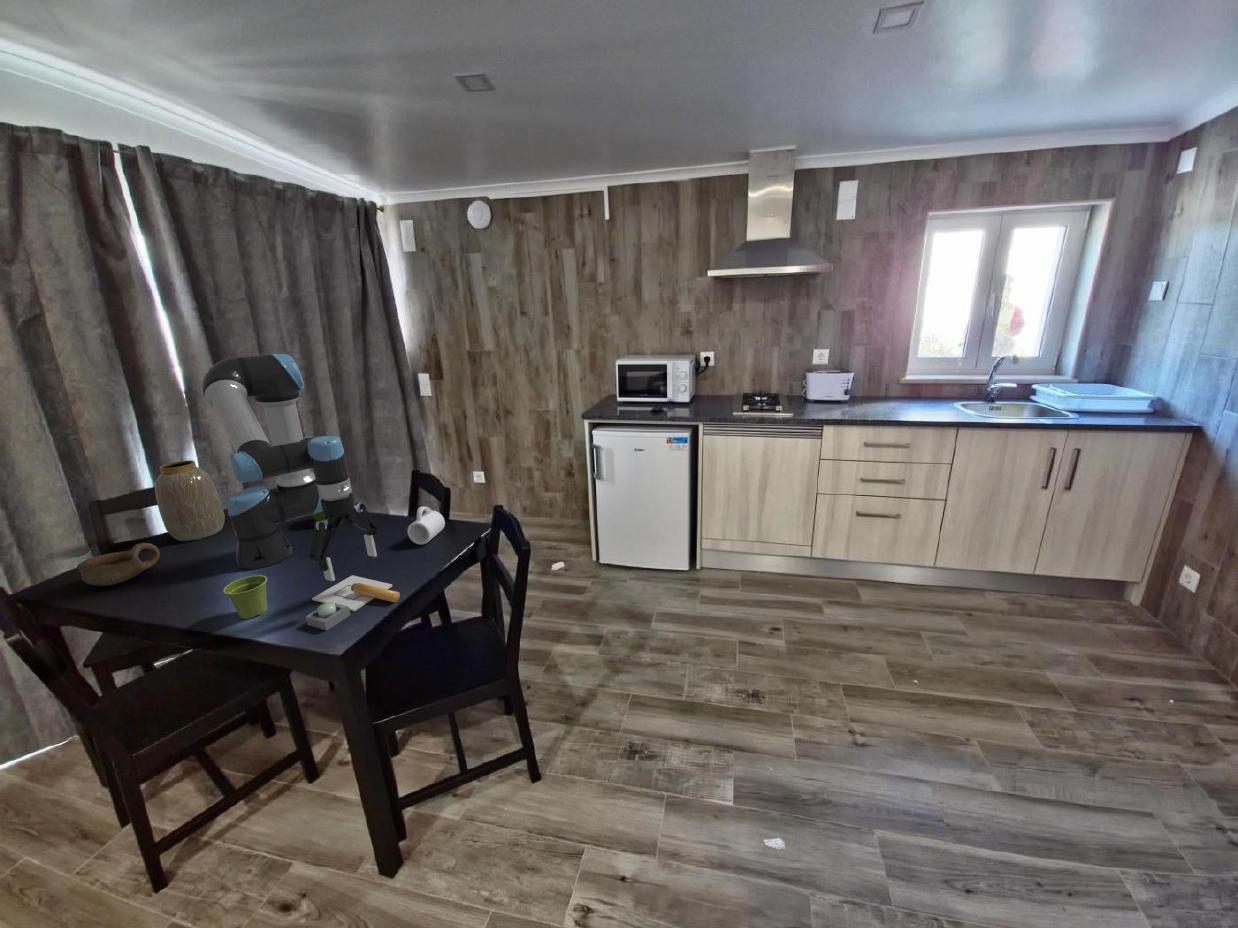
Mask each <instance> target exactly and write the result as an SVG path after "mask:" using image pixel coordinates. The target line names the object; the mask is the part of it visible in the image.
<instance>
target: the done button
mask: <svg viewBox="0 0 1238 928" xmlns="http://www.w3.org/2000/svg"><path fill="white" fill-rule="evenodd" d="M316 610H317V611H318V615H319V617H320V618H323V619H326V618H328V617H329V616H331V615H333V614H334V613H336V612H337V611H336V607H335V603H333V602H327V603H321V604H320V605H318V606H317V608H316Z"/></svg>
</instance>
